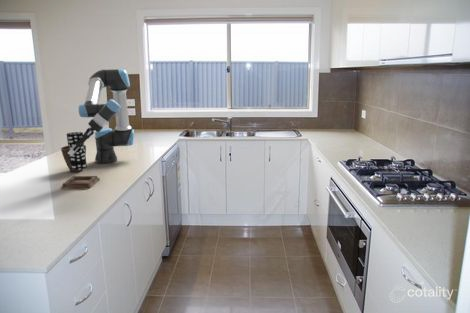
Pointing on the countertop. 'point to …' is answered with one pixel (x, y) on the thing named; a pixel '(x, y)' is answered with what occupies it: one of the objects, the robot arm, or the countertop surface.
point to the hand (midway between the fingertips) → (70, 152)
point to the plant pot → (67, 158)
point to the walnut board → (80, 182)
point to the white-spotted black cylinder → (79, 156)
